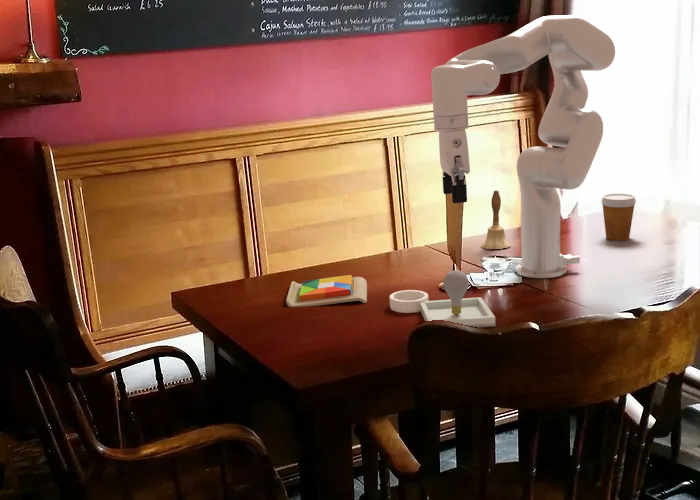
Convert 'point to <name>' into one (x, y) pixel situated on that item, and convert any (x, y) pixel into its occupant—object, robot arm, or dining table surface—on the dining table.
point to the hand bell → (495, 227)
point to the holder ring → (407, 300)
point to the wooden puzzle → (327, 291)
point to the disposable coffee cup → (618, 215)
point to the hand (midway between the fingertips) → (455, 197)
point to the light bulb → (456, 289)
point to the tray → (471, 313)
